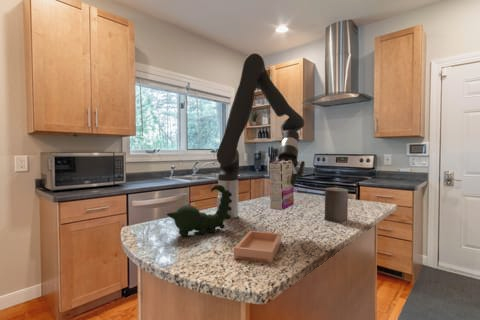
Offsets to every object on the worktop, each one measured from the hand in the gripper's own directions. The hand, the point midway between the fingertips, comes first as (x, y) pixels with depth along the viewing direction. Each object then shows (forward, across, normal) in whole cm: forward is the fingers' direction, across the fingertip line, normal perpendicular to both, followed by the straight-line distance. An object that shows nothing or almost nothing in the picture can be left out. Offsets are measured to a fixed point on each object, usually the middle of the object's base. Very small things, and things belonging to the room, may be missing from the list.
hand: (284, 183), depth 97 cm
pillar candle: (-6, +20, +32) cm, 38 cm away
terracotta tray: (+26, -5, 0) cm, 26 cm away
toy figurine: (+19, -30, +8) cm, 36 cm away
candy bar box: (+7, 0, +5) cm, 9 cm away
